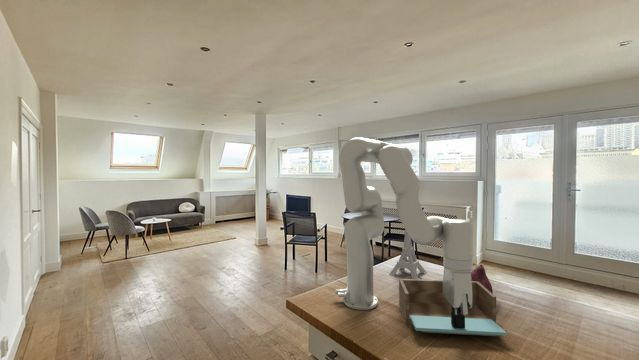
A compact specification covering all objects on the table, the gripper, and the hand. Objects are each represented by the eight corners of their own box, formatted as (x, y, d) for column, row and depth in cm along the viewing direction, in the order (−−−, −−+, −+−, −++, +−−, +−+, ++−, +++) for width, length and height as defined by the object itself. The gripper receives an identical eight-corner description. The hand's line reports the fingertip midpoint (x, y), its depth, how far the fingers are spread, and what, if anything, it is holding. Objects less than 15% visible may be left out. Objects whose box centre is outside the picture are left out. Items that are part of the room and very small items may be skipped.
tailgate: (410, 319, 85) (415, 332, 77) (409, 315, 85) (415, 327, 77) (491, 324, 82) (506, 337, 75) (491, 319, 83) (506, 332, 75)
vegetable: (496, 313, 98) (507, 277, 93) (465, 306, 100) (474, 271, 95) (486, 293, 107) (495, 260, 103) (458, 288, 109) (466, 255, 105)
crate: (405, 323, 86) (405, 293, 85) (399, 305, 97) (399, 278, 97) (496, 328, 82) (496, 297, 82) (478, 308, 94) (478, 281, 94)
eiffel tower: (426, 272, 129) (426, 209, 129) (417, 281, 119) (417, 213, 118) (399, 267, 137) (399, 207, 137) (388, 275, 127) (388, 210, 126)
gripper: (435, 255, 85) (436, 313, 86) (453, 272, 71) (454, 342, 71) (461, 255, 85) (461, 314, 85) (484, 272, 70) (484, 343, 70)
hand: (457, 326), depth 78 cm, fingers closed
